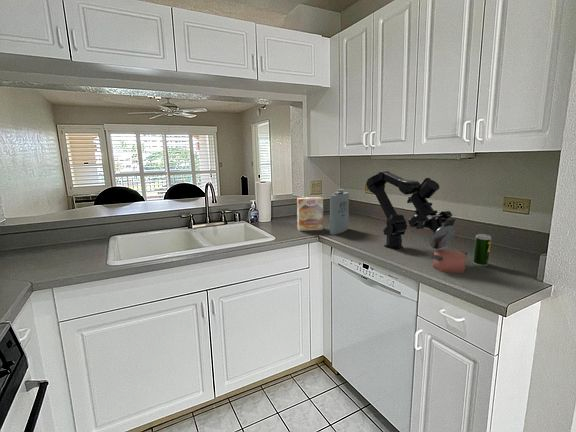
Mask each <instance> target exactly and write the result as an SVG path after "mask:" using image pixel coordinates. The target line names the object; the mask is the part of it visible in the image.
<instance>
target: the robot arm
mask: <svg viewBox="0 0 576 432" xmlns="http://www.w3.org/2000/svg"><path fill="white" fill-rule="evenodd" d="M387 183H389V184H391V185H392V186H395V187H397V188H398V190H399V192H401V193H402V194H403V195H411V196H408V198H407V202H406V203H407V204H412V205H413V206H414V208H415V211H414V213H415V214H413V216H412V217H411V218H408V220H406V219H405V216H404V215H403V214H398V213H397V212H396V209H395V208H394V206H393V203H392V202H391V200H390V198H389V196H388V194H387V193H386V184H387ZM365 186H366V187H367V188H368V191H369V192H370V193H372V194H373V195H375V197H376V199H377V200H378V204H379V205H380V207H381V208H382V209H381V210H383V213H384V215H385V218H386V227H385V228H384V229H383V230H382V231H383V235H384V236H386V242H385V243H386V244H384V247H386V248H389V249H392V250H397V249H401V248H403V247H404V246H403V245H402V242H403V238H402V236H403V235H405V234H406V231H407V228H408V227H407V226H408V225H409V227H410V228H415V229H416V230H420V229H421V230H423V229H424V228H428V229H430V230H431V231H432V232H433V233H434V232H435V231H436V230H437V229H438V228H440V227H441V226H443V224H444V223H445V220H446V219H449V218H452V217H453V214H452V212H451V211H450V210H444V211H440V212H439V213H438V210H434V208H433V207H432V206H433V202H429V201H428V199H430V198H432V196H434V194H435V193H436V192H438V191H439V190H440V185H439V183H438V182H436V181H435V180H433V179H431V178H430V177H425V178H424V179H423V181H422V182H419V181H418V180H414V179H413V180H412V179H406V178H403V177H401V176H399V175H396V174H394V173H392V172H390V171H389V170H387V171H384V170H383V171H379V172H378V173H376V174H375V175H372V176H370V177H369V178H368V179H367V180H366V185H365ZM407 223H408V225H407Z"/></svg>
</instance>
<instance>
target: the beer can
mask: <svg viewBox="0 0 576 432" xmlns="http://www.w3.org/2000/svg"><path fill="white" fill-rule="evenodd" d="M491 244H492V236H491V235H490V234H485V233H478V234H476V235H475V238H474V247H473V248H474V250H473V259H472V262H473V264H474V265H475V266H479V267H487V266H489V263H490V254H491Z"/></svg>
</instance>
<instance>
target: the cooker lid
mask: <svg viewBox="0 0 576 432" xmlns="http://www.w3.org/2000/svg"><path fill="white" fill-rule="evenodd" d="M456 220H457V219H456V218H454V217H450V218H449V219H446V220H445V222H444V223H443V224H442V226H441V227H440V228H438V229H437V230H436V231H435V232H433V233H432V234H431V236H430V239H429V245H430V247H432V249H435V250H440V249H443V248H444V247H445V246H447V245H448V244H449V243H450V242H451V241H452V240H453V238H454V237H455V234H456V227H455V225H454V224H455V222H456Z"/></svg>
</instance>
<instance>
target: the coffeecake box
mask: <svg viewBox="0 0 576 432" xmlns="http://www.w3.org/2000/svg"><path fill="white" fill-rule="evenodd" d="M296 208H297V209H296V214H297V215H296V219H297V220H296V221H297V222H296V224H297V227H296V228H297V230H298V232H303V231H305V232H307V231H323V229H324V198H323V197H321V196H309V197H306V196H305V197H296Z"/></svg>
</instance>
